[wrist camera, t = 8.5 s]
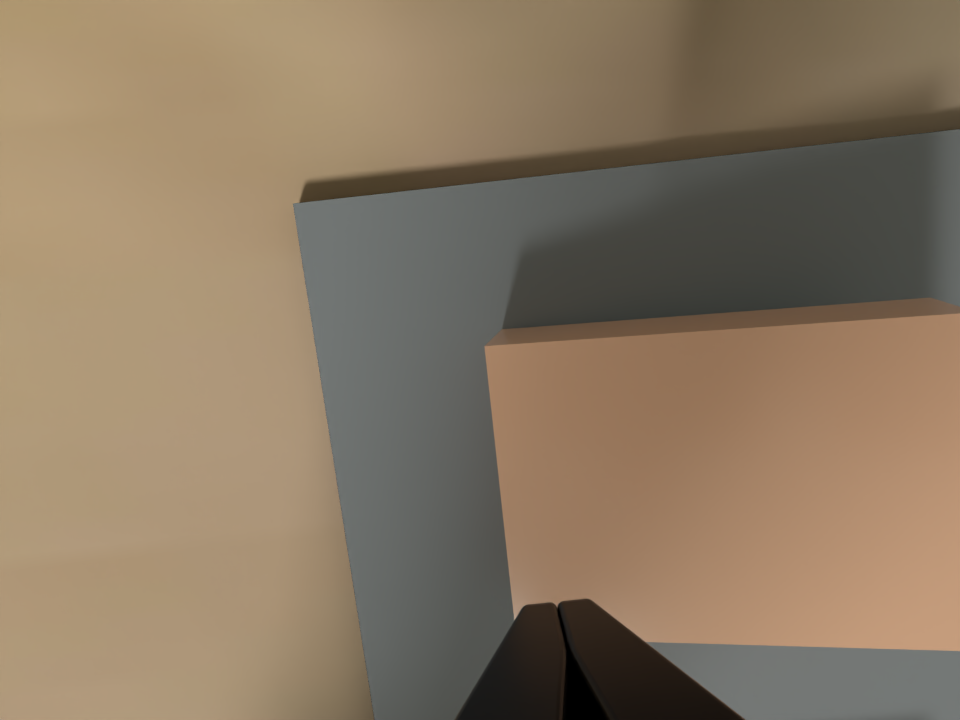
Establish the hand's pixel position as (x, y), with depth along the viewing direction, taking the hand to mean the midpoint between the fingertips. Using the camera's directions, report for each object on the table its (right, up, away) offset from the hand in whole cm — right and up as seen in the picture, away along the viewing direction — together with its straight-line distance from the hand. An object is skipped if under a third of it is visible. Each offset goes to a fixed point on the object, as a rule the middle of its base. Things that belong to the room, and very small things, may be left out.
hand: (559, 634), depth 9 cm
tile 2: (0, +1, +6) cm, 6 cm away
